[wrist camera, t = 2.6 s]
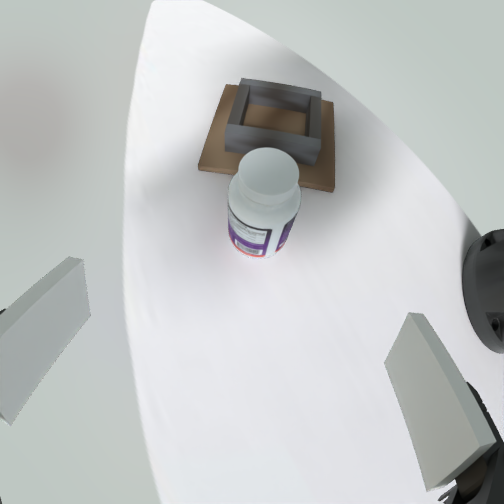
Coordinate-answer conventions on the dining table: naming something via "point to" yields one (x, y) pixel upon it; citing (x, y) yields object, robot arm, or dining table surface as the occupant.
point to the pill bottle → (263, 202)
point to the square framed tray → (273, 130)
